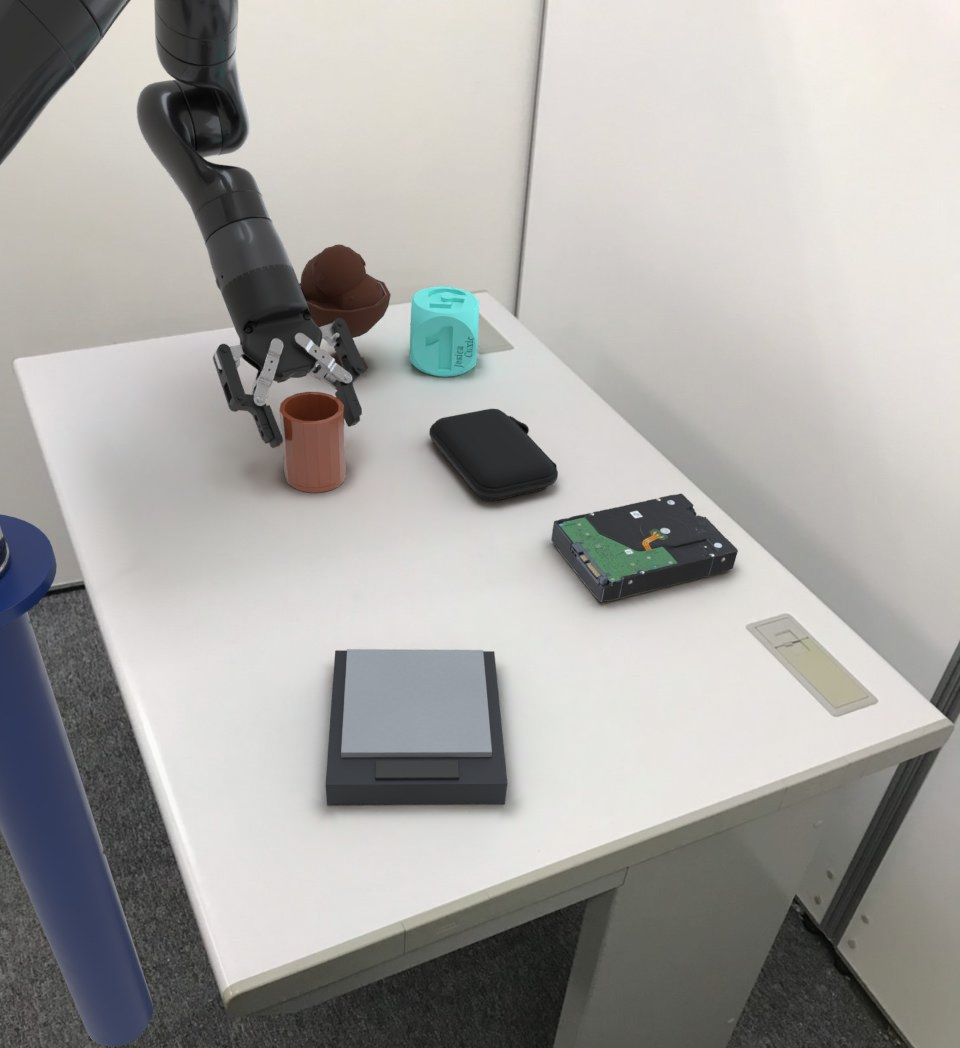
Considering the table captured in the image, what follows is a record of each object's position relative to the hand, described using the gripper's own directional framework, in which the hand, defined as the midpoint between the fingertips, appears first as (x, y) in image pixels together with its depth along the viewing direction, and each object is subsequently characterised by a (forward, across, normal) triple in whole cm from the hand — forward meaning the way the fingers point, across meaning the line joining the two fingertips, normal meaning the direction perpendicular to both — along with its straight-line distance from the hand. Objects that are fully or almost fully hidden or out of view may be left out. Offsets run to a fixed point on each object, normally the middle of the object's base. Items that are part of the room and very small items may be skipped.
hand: (317, 434), depth 100 cm
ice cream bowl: (-10, +14, +18) cm, 25 cm away
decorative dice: (-7, +25, +15) cm, 30 cm away
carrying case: (+8, +18, -1) cm, 20 cm away
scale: (+29, -10, -21) cm, 37 cm away
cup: (+3, 0, +4) cm, 5 cm away
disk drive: (+23, +21, -15) cm, 34 cm away
